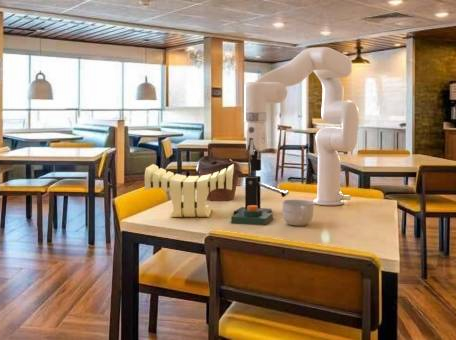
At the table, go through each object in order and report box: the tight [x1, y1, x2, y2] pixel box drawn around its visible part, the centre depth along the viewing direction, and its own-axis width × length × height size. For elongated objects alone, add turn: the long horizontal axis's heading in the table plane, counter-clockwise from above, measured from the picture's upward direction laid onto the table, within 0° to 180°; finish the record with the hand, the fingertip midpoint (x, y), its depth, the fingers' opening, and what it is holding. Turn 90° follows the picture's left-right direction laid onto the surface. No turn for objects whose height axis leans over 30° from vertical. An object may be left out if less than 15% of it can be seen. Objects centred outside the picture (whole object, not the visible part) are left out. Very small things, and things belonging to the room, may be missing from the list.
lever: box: [257, 179, 290, 198], centre depth 199 cm, size 15×5×2 cm, turn 80°
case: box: [196, 155, 244, 202], centre depth 230 cm, size 18×20×18 cm
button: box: [247, 205, 258, 211], centre depth 188 cm, size 4×4×2 cm
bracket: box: [233, 175, 273, 216], centre depth 201 cm, size 12×9×14 cm
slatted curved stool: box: [144, 163, 234, 218], centre depth 197 cm, size 30×16×18 cm, turn 96°
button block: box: [230, 208, 274, 226], centre depth 188 cm, size 12×10×4 cm
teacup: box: [282, 199, 315, 227], centre depth 182 cm, size 14×11×8 cm
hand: (256, 170), depth 189 cm, fingers closed
